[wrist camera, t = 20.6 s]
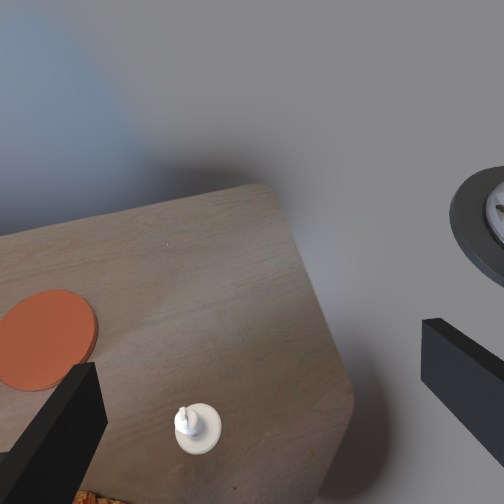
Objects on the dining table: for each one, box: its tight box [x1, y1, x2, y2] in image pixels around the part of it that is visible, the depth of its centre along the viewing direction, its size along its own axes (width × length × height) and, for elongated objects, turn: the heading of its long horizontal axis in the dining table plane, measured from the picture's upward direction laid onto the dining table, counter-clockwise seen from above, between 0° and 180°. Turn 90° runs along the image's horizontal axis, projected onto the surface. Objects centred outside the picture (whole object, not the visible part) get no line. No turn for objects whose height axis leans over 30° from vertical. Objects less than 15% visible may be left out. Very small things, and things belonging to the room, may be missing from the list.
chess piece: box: [175, 403, 222, 455], centre depth 34 cm, size 5×5×10 cm
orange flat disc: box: [0, 290, 98, 391], centre depth 43 cm, size 12×12×1 cm
